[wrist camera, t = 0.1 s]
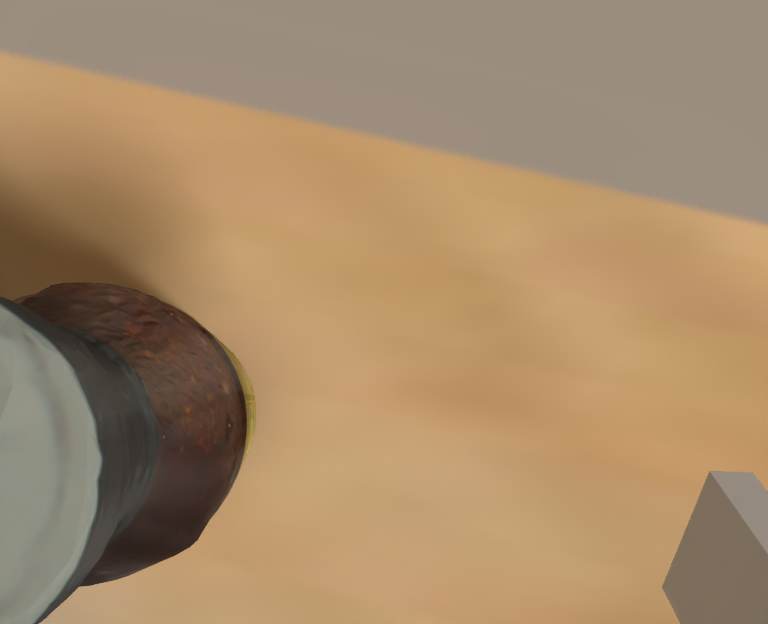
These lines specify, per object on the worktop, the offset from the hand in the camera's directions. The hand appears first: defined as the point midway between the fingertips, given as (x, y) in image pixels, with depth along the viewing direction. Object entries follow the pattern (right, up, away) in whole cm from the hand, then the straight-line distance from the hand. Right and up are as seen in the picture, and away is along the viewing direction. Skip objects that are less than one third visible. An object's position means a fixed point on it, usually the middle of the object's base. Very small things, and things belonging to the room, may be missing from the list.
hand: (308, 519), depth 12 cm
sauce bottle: (-6, -1, +15) cm, 16 cm away
